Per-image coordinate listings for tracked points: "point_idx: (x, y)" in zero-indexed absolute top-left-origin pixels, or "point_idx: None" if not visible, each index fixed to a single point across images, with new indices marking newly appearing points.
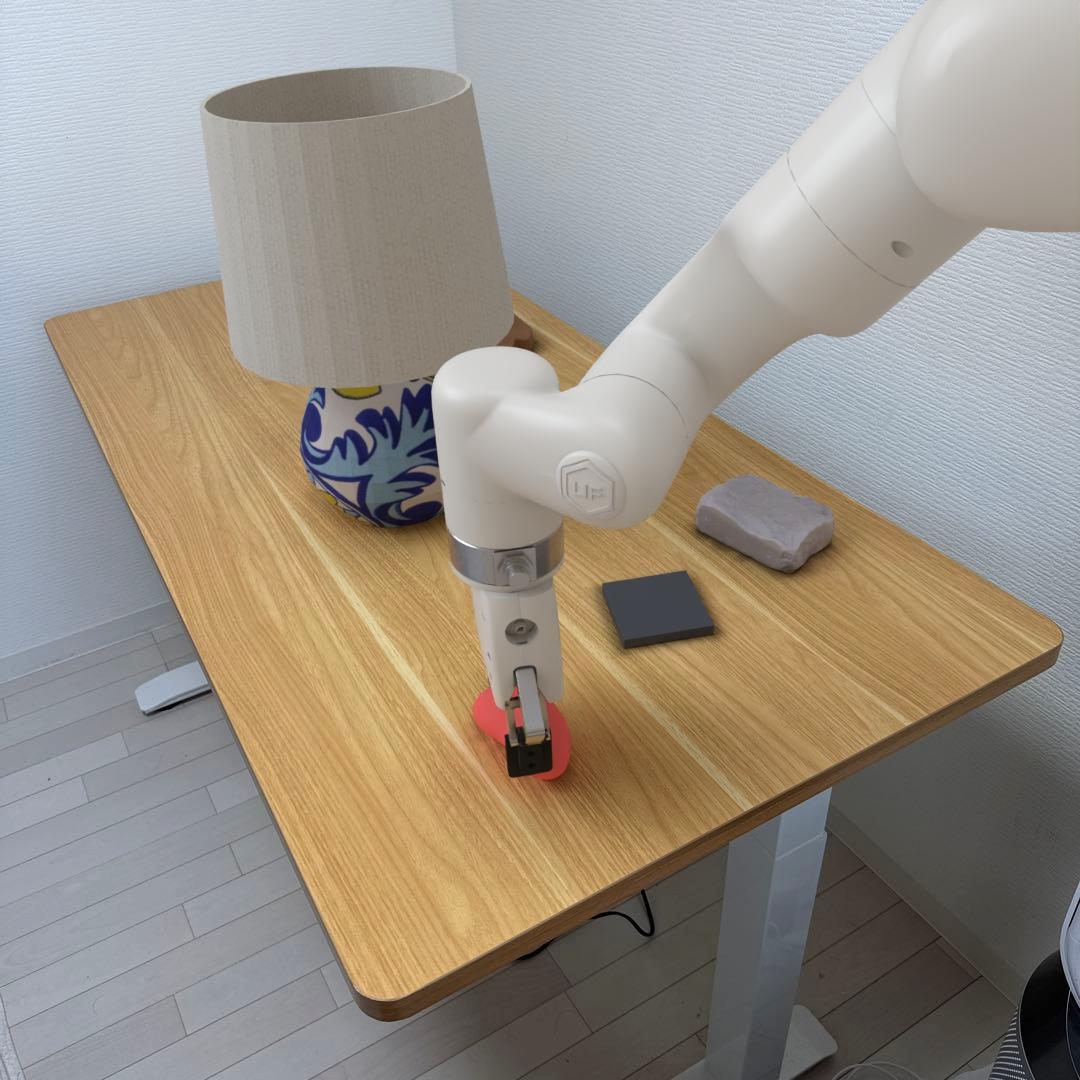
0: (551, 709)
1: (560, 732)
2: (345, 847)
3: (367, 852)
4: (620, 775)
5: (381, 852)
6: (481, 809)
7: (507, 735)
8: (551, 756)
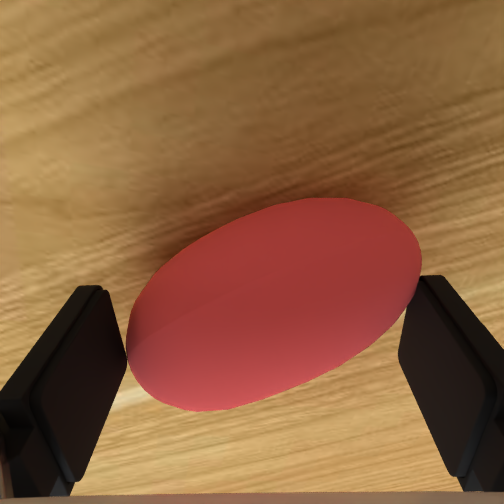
0: (293, 291)
1: (369, 262)
2: (385, 487)
3: (404, 470)
4: (419, 53)
5: (412, 459)
6: (390, 351)
7: (473, 487)
8: (464, 305)
